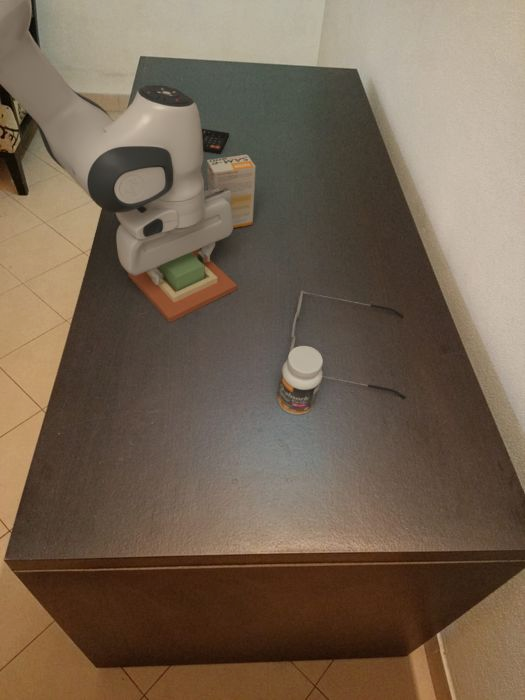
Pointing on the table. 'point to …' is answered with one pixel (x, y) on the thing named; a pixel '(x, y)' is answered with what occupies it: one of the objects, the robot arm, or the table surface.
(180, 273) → the green block
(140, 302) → the table surface
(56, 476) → the table surface
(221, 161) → the supplement box
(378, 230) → the table surface
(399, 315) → the eyeglasses
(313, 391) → the pill bottle
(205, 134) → the calculator
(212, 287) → the base pad
